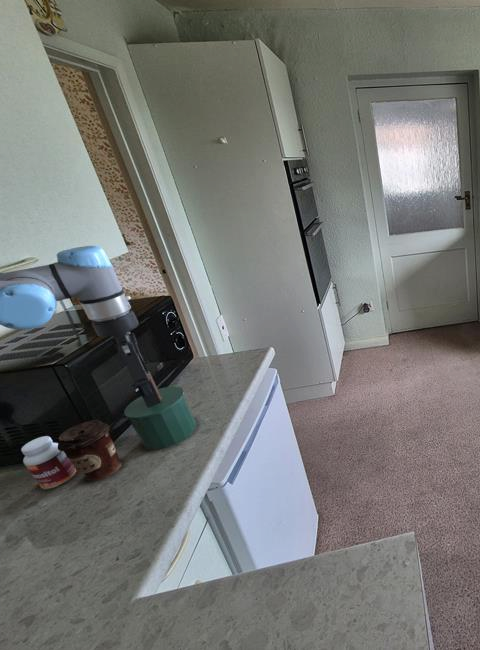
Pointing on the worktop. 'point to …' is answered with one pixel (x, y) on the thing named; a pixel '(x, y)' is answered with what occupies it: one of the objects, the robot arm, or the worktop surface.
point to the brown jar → (90, 449)
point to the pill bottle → (47, 462)
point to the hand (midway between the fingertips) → (152, 396)
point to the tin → (165, 427)
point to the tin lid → (141, 411)
